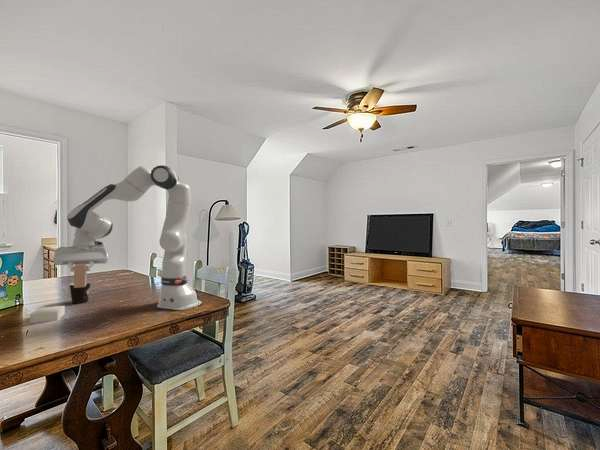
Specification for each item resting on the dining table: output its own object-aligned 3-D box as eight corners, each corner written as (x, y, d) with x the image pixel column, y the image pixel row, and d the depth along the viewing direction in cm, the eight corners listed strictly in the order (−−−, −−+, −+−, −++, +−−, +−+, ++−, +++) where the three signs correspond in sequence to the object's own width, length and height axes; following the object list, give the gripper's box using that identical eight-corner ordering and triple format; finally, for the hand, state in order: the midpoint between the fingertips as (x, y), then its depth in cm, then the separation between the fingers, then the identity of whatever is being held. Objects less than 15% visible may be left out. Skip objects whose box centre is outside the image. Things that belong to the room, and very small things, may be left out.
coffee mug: (78, 305, 140) (78, 285, 139) (64, 303, 141) (65, 284, 141) (99, 298, 151) (99, 280, 151) (86, 297, 153) (86, 279, 153)
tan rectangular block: (86, 285, 130) (86, 263, 129) (85, 287, 126) (85, 265, 126) (75, 285, 127) (75, 264, 127) (73, 287, 124) (74, 265, 124)
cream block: (64, 314, 128) (64, 305, 128) (57, 320, 120) (57, 311, 120) (39, 316, 124) (39, 307, 124) (30, 323, 116) (30, 314, 116)
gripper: (54, 242, 127) (48, 267, 119) (108, 242, 138) (106, 265, 129) (56, 251, 131) (51, 276, 123) (109, 250, 141) (107, 273, 133)
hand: (80, 270), depth 126 cm, fingers closed on tan rectangular block, 4 cm apart
